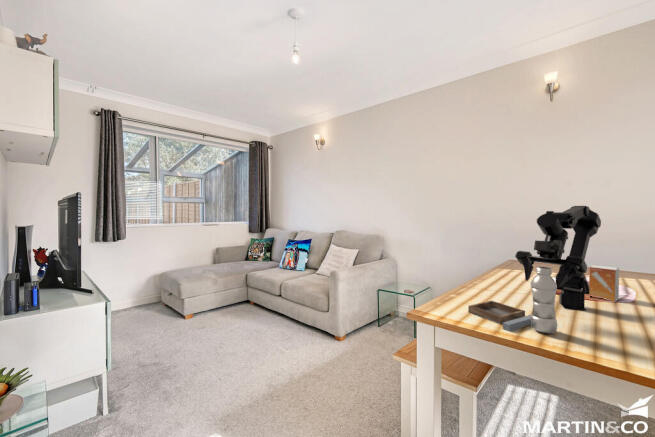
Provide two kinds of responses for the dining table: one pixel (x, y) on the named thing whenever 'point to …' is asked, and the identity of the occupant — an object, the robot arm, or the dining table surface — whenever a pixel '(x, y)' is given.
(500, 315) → the brown square tray
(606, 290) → the small box
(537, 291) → the plastic bottle
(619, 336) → the dining table surface
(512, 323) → the door edge strip
